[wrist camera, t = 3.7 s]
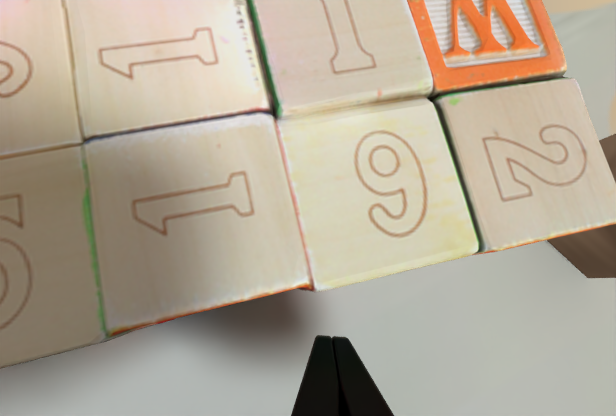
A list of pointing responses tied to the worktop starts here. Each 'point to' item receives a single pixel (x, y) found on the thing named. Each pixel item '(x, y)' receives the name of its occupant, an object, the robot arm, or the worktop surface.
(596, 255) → the walnut block
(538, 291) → the worktop surface
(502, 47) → the stack of blocks
